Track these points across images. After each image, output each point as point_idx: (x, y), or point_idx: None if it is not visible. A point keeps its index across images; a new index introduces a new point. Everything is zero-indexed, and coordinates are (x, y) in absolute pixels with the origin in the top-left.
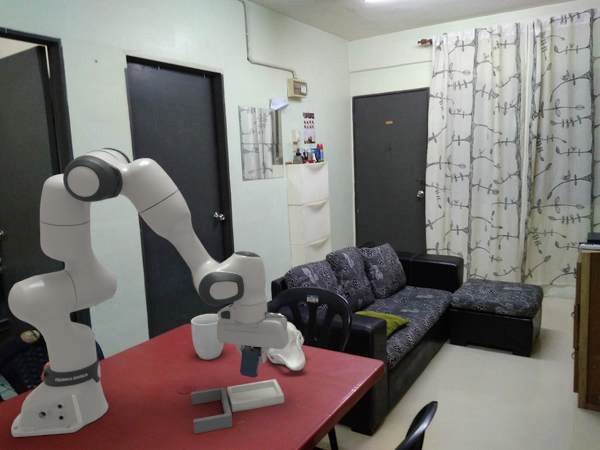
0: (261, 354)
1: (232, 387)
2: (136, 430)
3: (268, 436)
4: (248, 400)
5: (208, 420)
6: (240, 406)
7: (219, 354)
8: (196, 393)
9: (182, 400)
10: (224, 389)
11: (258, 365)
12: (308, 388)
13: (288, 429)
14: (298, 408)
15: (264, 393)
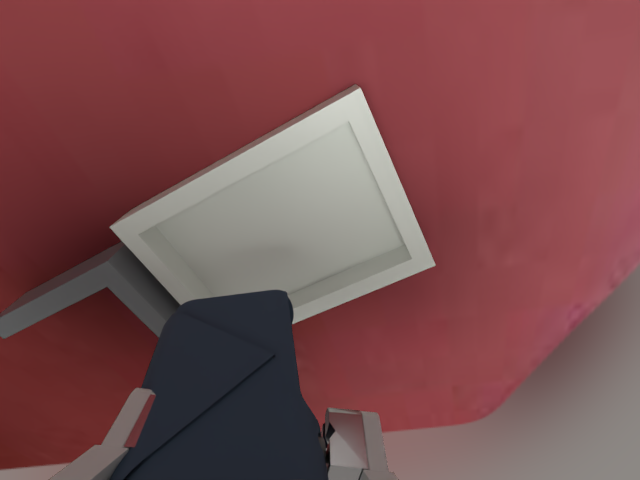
0: (336, 474)
1: (140, 229)
2: (2, 429)
3: (395, 408)
4: None
5: None
6: None
7: None
8: (19, 328)
9: None
10: (124, 283)
11: (292, 341)
12: (554, 83)
13: (452, 378)
14: (488, 273)
15: (317, 200)
